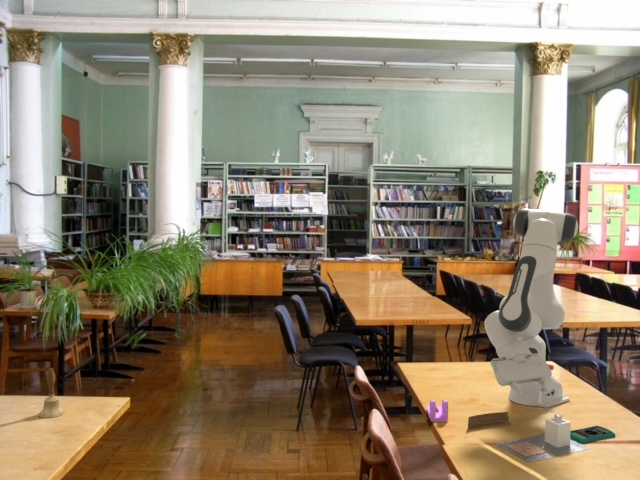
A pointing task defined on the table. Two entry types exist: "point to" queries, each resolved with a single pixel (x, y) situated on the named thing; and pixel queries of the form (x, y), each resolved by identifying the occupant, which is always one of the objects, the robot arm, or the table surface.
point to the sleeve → (557, 432)
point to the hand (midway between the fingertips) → (534, 394)
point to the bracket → (438, 411)
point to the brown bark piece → (488, 419)
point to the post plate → (539, 447)
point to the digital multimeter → (591, 434)
